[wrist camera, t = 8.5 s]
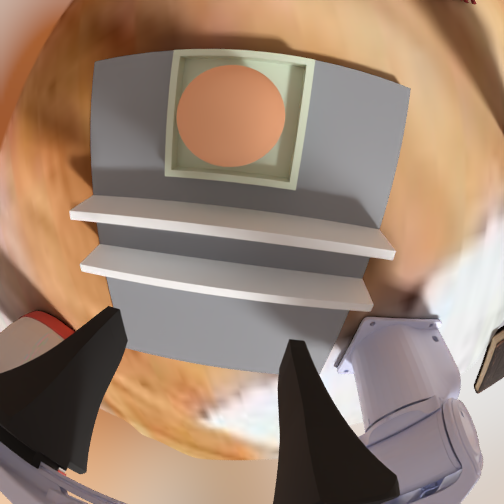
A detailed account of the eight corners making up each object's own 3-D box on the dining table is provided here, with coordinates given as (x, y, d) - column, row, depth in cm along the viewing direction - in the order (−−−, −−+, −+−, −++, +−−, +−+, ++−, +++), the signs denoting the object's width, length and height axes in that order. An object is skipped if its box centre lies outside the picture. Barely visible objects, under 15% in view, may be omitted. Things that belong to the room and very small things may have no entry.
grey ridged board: (403, 89, 13) (435, 87, 9) (317, 368, 26) (320, 400, 22) (102, 62, 13) (67, 58, 9) (128, 341, 26) (115, 369, 22)
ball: (287, 78, 12) (296, 61, 8) (276, 163, 15) (279, 185, 10) (197, 71, 12) (165, 55, 8) (190, 154, 15) (157, 173, 10)
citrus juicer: (94, 307, 24) (4, 473, 6) (118, 390, 32) (78, 503, 15) (5, 270, 23) (-81, 376, 6) (40, 355, 32) (-8, 445, 14)
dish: (311, 63, 12) (315, 59, 11) (293, 183, 16) (295, 190, 14) (181, 54, 12) (173, 49, 11) (172, 170, 16) (164, 176, 14)
